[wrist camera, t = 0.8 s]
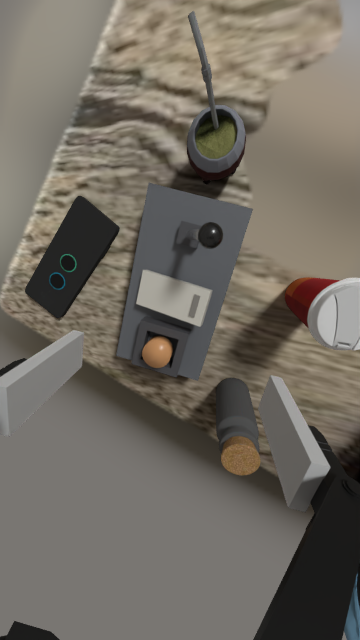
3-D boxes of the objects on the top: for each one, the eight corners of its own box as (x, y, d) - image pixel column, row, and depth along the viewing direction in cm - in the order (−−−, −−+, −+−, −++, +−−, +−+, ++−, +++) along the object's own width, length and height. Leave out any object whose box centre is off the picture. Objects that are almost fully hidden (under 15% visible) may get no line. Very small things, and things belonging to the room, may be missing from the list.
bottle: (216, 405, 44) (217, 477, 30) (215, 377, 43) (215, 439, 28) (248, 405, 43) (265, 480, 29) (248, 377, 42) (265, 441, 27)
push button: (176, 340, 34) (173, 346, 32) (169, 363, 35) (166, 371, 33) (149, 332, 34) (145, 337, 32) (144, 356, 36) (139, 363, 33)
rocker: (212, 290, 31) (210, 291, 30) (202, 324, 32) (199, 327, 31) (147, 269, 34) (142, 269, 32) (140, 302, 35) (135, 303, 34)
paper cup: (321, 323, 37) (380, 361, 24) (272, 314, 38) (302, 347, 25) (337, 273, 35) (412, 286, 22) (285, 265, 36) (326, 273, 22)
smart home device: (22, 291, 42) (76, 192, 36) (29, 289, 44) (82, 195, 38) (59, 320, 43) (118, 228, 37) (64, 317, 44) (123, 229, 38)
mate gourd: (225, 197, 34) (232, 157, 20) (177, 172, 34) (151, 116, 20) (252, 143, 32) (281, 54, 18) (201, 116, 32) (190, 7, 18)
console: (247, 215, 35) (256, 205, 27) (199, 366, 42) (196, 389, 35) (157, 192, 36) (143, 176, 28) (127, 344, 43) (109, 362, 36)
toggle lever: (201, 227, 30) (230, 225, 21) (196, 246, 30) (222, 252, 22) (183, 222, 29) (206, 218, 20) (178, 241, 30) (198, 246, 21)
